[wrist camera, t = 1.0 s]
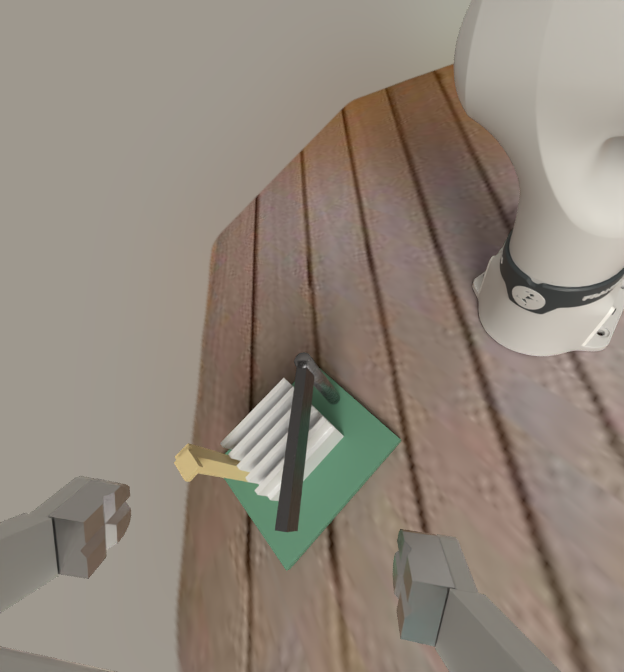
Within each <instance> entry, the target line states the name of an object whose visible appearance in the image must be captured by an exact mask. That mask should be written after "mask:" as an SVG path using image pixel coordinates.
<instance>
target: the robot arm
mask: <svg viewBox="0 0 624 672" xmlns="http://www.w3.org/2000/svg"><path fill="white" fill-rule="evenodd" d="M454 80H455V86H456V91H457V94H458V97H459V100H460V102H461V104H462V107H463V109H464V110H465V112H466V113H467V115H468V116H469V117H470V118H472V119H473V120H475V121H476V122H478V123H479V124H480V125H482V126H483V127H484V128H485V129H486V130H487V131H489V132H490V133H491V134H492V135H493V136H494V137H495V139H496V140H497V141H498V142H499V143H500V145H501V146H502V147H503V149H504V150H505V152H506V153H507V155H508V157H509V158H510V160H511V162H512V164H513V166H514V169H515V171H516V174H517V177H518V181H519V187H520V197H519V204H518V210H517V215H516V220H515V224H514V228H513V229H512V230H511V232H510V233H509V235H508V237H507V239H506V241H505V243H504V245H503V247H502V248H501V249H500V250H499V253H498V254H497V255H496V256H492V257H491V259H490V261H489V263H488V266H487V269H486V271H485V272H483V273H482V274H481V275H479V276H478V277H477V278H475V280H474V282H473V284H472V287H473V290H474V292H475V294H476V296H477V298H478V302H479V307H478V311H479V317H480V321H481V323H482V325H483V327H484V329H485V330H486V332H487V333H488V334H489V335H490V336H491V337H492V338H493V339H494V340H495V341H497V342H498V343H499V344H501V345H503V346H504V347H506V348H508V349H510V350H513V351H516V352H519V353H522V354H527V355H533V356H552V355H558V354H562V353H566V352H569V351H575V350H580V351H601V350H604V349H605V348H606V347H607V345H608V344H609V342H610V340H611V337H612V335H613V333H614V330H615V328H616V326H617V323H618V321H619V318H620V316H621V314H622V311H623V309H624V0H472V1H471V3H470V5H469V7H468V9H467V11H466V14H465V16H464V19H463V22H462V25H461V27H460V30H459V34H458V38H457V43H456V48H455V55H454ZM597 332H598V333H601V334H602V335H603V336H600V335H598V334H597ZM129 496H130V490H129V486H128V485H126V484H121V483H117V482H112V481H106V480H101V479H94V478H89V477H84V476H79V477H76V478H74V479H73V480H72V481H70V482H69V483H68V484H67V485H65V486H64V487H63V488H62V489H60V490H59V491H58V492H57V493H55V494H54V495H53V496H51V497H50V498H49V499H47V500H46V501H45V502H44V503H42V504H41V505H40V506H39V507H37V508H36V509H35V510H34V511H32V512H31V513H30V514H27V513H23V514H21V515H18V516H16V517H13V518H10V519H8V520H5V521H3V522H0V613H1V612H3V611H5V610H6V609H8V608H9V607H11V606H12V605H14V604H16V603H17V602H19V601H20V600H22V599H23V598H24V597H26V596H28V595H30V594H31V593H33V592H34V591H36V590H37V589H39V588H40V587H42V586H43V585H45V584H46V583H48V582H50V581H51V580H53V579H54V578H56V577H58V574H61V575H67V576H74V577H80V578H87V579H89V577H90V576H91V575H92V574H93V573H94V571H95V570H96V569H97V568H98V567H99V565H100V564H101V563H102V561H103V560H104V559H105V558H106V553H107V549H108V548H110V547H112V546H114V545H115V544H117V543H118V542H119V541H120V539H121V538H122V537H123V536H124V534H125V532H126V530H127V528H128V525H129V522H130V518H131V508H130V507H129V505H128V504H127V502H126V500H127V499H128V498H129ZM397 542H398V548H399V551H397V552H396V553H395V556H394V562H393V586H394V594H395V595H396V596H397V598H398V599H399V601H398V606H397V617H398V624H399V631H400V638H401V639H403V640H408V641H412V642H417V643H421V644H426V645H430V646H434V647H436V648H435V649H436V651H437V652H438V654H439V656H440V657H441V659H442V660H443V662H444V664H445V665H446V667H447V668H448V670H449V672H561V671H560V670H559V669H558V668H557V667H556V666H555V665H554V664H553V663H552V662H551V661H550V660H549V659H548V658H547V657H546V656H545V655H544V654H543V653H542V652H541V651H540V650H539V649H538V648H537V647H536V646H535V645H534V644H533V643H532V642H531V641H530V640H529V639H528V638H527V637H526V636H525V635H524V634H523V633H522V632H521V631H520V630H519V629H518V628H517V627H516V626H515V625H514V624H513V623H512V622H511V621H510V620H509V619H508V618H507V617H506V616H505V615H504V614H503V613H502V612H501V611H500V610H499V608H498V607H497V606H496V605H495V604H494V603H493V602H492V601H491V600H490V599H489V598H488V597H487V596H486V595H484V594H479V593H478V590H477V588H476V585H475V583H474V580H473V577H472V575H471V572H470V570H469V567H468V565H467V562H466V560H465V557H464V554H463V552H462V549H461V547H460V544H459V542H458V540H457V539H456V538H455V537H451V536H444V535H438V534H437V535H435V534H429V533H423V532H416V531H410V530H403V529H400V531H399V534H398V539H397ZM0 672H116V671H112V670H107V669H103V668H98V667H93V666H88V665H84V664H80V663H75V662H70V661H66V660H61V659H57V658H52V657H47V656H43V655H38V654H33V653H29V652H24V651H20V650H15V649H11V648H6V647H1V646H0Z"/></svg>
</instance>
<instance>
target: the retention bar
mask: <svg viewBox="0 0 624 672" xmlns="http://www.w3.org/2000/svg"><path fill="white" fill-rule="evenodd" d="M294 362H295V365H296V367H297V370H296V377H295V385H294V392H293V399H292V407H291V414H290V421H289V429H288V436H287V443H286V451H285V458H284V465H283V473H282V480H281V487H280V495H279V502H278V509H277V517H276V524H275V531H281V532H293V531H298V523H299V514H300V505H301V496H302V487H303V478H304V469H305V459H306V450H307V441H308V432H309V423H310V414H311V405H312V396H313V386H314V387H315V388H316V389H317V390H318V391H319V392H320V393H321V394H322V395H323V397H324V398H325V399H326V400H327V401H328V402H329V403H330V404H337V403H338V402H339V400H340V395H339V393H338V392H337V391H336V389H335V388H334V387H333V385H332V384H331V383H330V381H329V380H328V379H327V378H326V376H325V375H324V374H323V372H322V371H321V370H320V368H319V367H318V366H317V364H316V363H315V362H314V360H313V359H312V358H311V356H310V355H309V354H308V353H300V354H298V355H297V356H296V358H295V361H294Z"/></svg>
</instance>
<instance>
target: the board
mask: <svg viewBox="0 0 624 672" xmlns="http://www.w3.org/2000/svg"><path fill="white" fill-rule="evenodd" d="M320 370H321V369H320ZM321 371H322V370H321ZM322 372H323V371H322ZM323 374H324V375H325V376H326V378H327V379H328V380H329V381H330V383H331V384H332V385H333V387H334V388H335V389H336V391H337V392H338V393H339V395H340V400H339V402H338V403H337V404H330V403H329V402H328V401H327V400H326V399H325V398H324V397H323V395H322V394H321V393H320V392H319V391H318V390H317V389H316V388H315V387H314V386H313V396H312V405H311V414H310V423H309V432H308V441H307V450H306V459H305V469H304V478H303V487H302V496H301V505H300V514H299V523H298V531H293V532H281V531H275V524H276V517H277V509H278V502H279V495H280V487H281V480H282V473H283V465H284V458H285V451H286V443H287V436H288V429H289V421H290V414H291V407H292V399H293V392H294V385H295V381H294V382H293V384H292V385H291V384H290V383H289V382H288V381H287V380H286V379H285V378H283V379H282V380H281V381H280V382H279V383H278V384H277V385H276V386H275V387H274V388H273V389H272V390H271V391H270V392H269V393H268V394H267V396H266V397H265V398H264V399H263V400H262V401H261V402H260V403H259V404H258V405H257V406H256V407H255V408H254V409H253V410H252V411H251V412H250V413H249V414H248V415H247V416H246V417H245V418H244V419H243V420H242V421H241V422H240V423H239V424H238V425H237V427H236V428H235V429H234V430H233V431H232V432H231V433H230V434H229V435H228V436H227V437H226V438H225V439H224V440H223V441H222V442H221V443H220V444H221V445H222V446H223V447H224V448H227V449H229V450H228V451H227V452H226V453H225V454H223V453H219V452H216V451H213V450H209V449H206V448H202V447H199V446H196V445H192V444H189V443H188V444H187V445H186V446H185V447H184V448H183V449H182V450H181V451H180V452H179V453H178V454H177V455H176V456H175V458H176V461H175V462H174V464H175V465H176V467H177V468H178V470H179V472H180V474H181V475H182V477H183V479H184V480H185V481H187V482H190V481H191V480H192V479H193V478H194V477H195V476H196V475H197V474H198V473H200V474H206V475H211V476H217V477H223V478H224V479H225V480H226V482H227V483H228V485H229V486H230V488H231V489H232V491H233V492H234V494H235V495H236V497H237V498H238V500H239V501H240V503H241V504H242V505H243V507H244V508H245V510H246V511H247V513H248V514H249V516H250V517H251V519H252V520H253V522H254V523H255V525H256V526H257V528H258V529H259V531H260V532H261V534H262V535H263V537H264V538H265V539H266V541H267V542H268V544H269V545H270V547H271V548H272V550H273V551H274V553H275V554H276V556H277V557H278V559H279V560H280V562H281V563H282V565H283V566H284V568H285V569H286V570H289V569H290V568H291V567H292V566H293V565H294V564H295V563H296V562H297V560H298V559H299V558H300V557H301V556H302V555H303V554H304V552H305V551H306V550H307V549H308V548H309V547H310V545H311V544H312V543H313V542H314V541H315V540H316V539H317V537H318V536H319V535H320V534H321V533H322V532H323V531H324V529H325V528H326V527H327V526H328V525H329V524H330V522H331V521H332V520H333V519H334V518H335V517H336V516H337V514H338V513H339V512H340V511H341V510H342V509H343V508H344V506H345V505H346V504H347V503H348V502H349V501H350V499H351V498H352V497H353V496H354V495H355V494H356V493H357V491H358V490H359V489H360V488H361V487H362V486H363V485H364V483H365V482H366V481H367V480H368V479H369V478H370V476H371V475H372V474H373V473H374V472H375V471H376V470H377V468H378V467H379V466H380V465H381V464H382V463H383V461H384V460H385V459H386V458H387V457H388V456H389V455H390V453H391V452H392V451H393V450H394V449H395V448H396V447H397V445H398V444H399V443H400V442H401V440H400V439H399V438H398V437H397V436H396V435H395V434H394V433H393V432H391V431H390V430H389V429H388V428H387V427H386V426H385V425H383V424H382V423H381V422H380V421H379V420H378V419H377V418H376V417H374V416H373V415H372V414H371V413H370V412H369V411H368V410H366V409H365V408H364V407H363V406H362V405H361V404H360V403H358V402H357V401H356V400H355V399H354V398H353V397H352V396H351V395H349V394H348V393H347V392H346V391H345V390H344V389H343V388H341V387H340V386H339V385H338V384H337V383H336V382H335V381H334V380H332V379H331V378H330V377H329V376H328V375H327V374H326V373H324V372H323Z"/></svg>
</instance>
